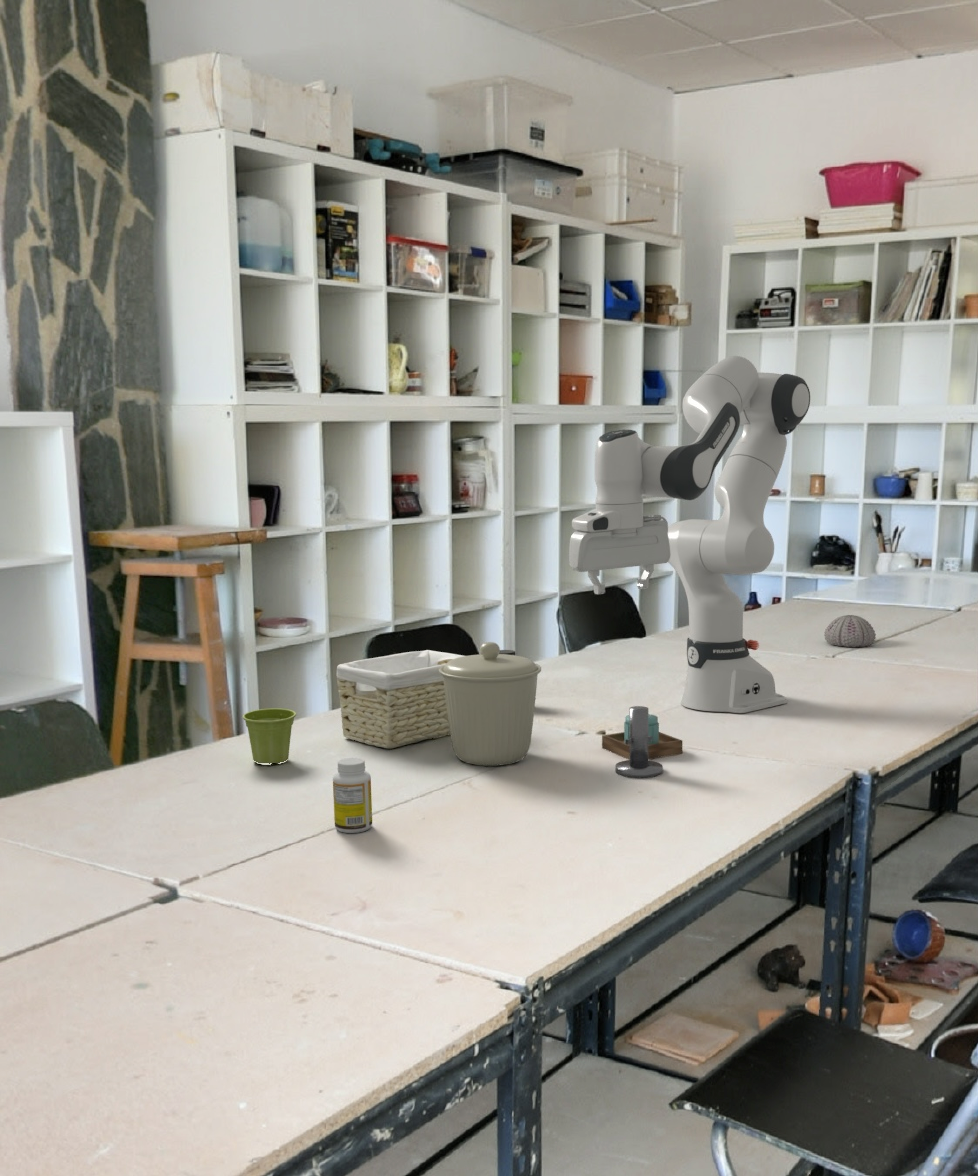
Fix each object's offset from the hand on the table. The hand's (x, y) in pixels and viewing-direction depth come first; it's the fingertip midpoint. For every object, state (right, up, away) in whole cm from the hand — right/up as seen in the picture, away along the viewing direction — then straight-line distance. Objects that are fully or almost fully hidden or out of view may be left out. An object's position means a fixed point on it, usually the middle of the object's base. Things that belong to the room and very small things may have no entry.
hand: (621, 591), depth 226 cm
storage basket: (-40, -28, +6) cm, 50 cm away
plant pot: (-64, -31, -12) cm, 72 cm away
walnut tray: (+3, -29, -9) cm, 30 cm away
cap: (+3, -28, -9) cm, 29 cm away
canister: (-25, -30, -12) cm, 41 cm away
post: (+1, -31, -22) cm, 38 cm away
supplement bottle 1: (-45, -35, -49) cm, 75 cm away
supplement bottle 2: (-22, -25, +28) cm, 43 cm away
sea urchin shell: (+72, -15, +96) cm, 121 cm away
